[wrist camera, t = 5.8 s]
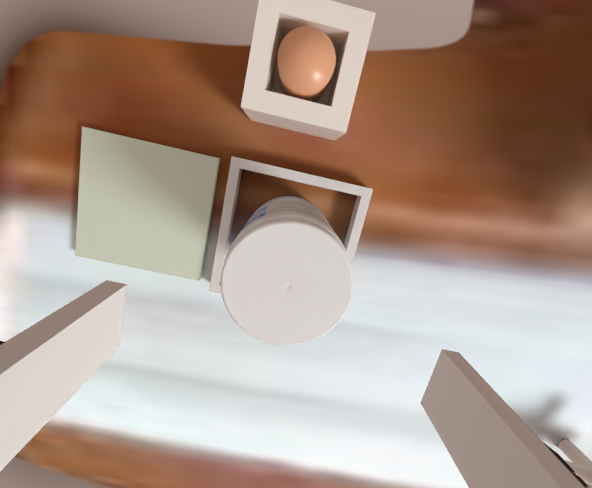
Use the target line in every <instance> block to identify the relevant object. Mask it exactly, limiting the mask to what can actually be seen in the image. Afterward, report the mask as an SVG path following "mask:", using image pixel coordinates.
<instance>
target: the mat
mask: <svg viewBox="0 0 592 488" xmlns="http://www.w3.org/2000/svg"><path fill="white" fill-rule="evenodd" d="M220 159H221V158H216V157H212V156H208V155H203V154H199V153H195V152H191V151H186V150H182V149H178V148H173V147H169V146H165V145H160V144H156V143H152V142H147V141H143V140H139V139H134V138H130V137H126V136H122V135H117V134H113V133H109V132H104V131H100V130H96V129H91V128H87V127H82V138H81V157H80V175H79V194H78V212H77V230H76V249H75V256H80V257H85V258H90V259H95V260H100V261H105V262H110V263H115V264H119V265H124V266H129V267H134V268H139V269H144V270H149V271H154V272H159V273H164V274H169V275H174V276H179V277H184V278H189V279H194V280H200V279H201V277H202V271H203V265H204V258H205V252H206V246H207V240H208V234H209V227H210V221H211V215H212V209H213V202H214V196H215V190H216V184H217V178H218V171H219V165H220Z"/></svg>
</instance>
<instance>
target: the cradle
mask: <svg viewBox="0 0 592 488" xmlns="http://www.w3.org/2000/svg"><path fill="white" fill-rule="evenodd" d="M242 169H245V170H249V171H254V172H258V173H262V174H267V175H271V176H275V177H280V178H284V179H288V180H293V181H297V182H301V183H306V184H310V185H314V186H319V187H323V188H327V189H332V190H336V191H340V192H345V193H349V194H353V195H357V198H356V201H355V205H354V209H353V212H352V216H351V220H350V223H349V227H348V231H347V234H346V238H345V242H344V247H345V249H346V251H347V253H348V256H349V259H350V262H351V266H352V262H353V259H354V255H355V252H356V248H357V244H358V241H359V237H360V234H361V230H362V227H363V223H364V220H365V216H366V213H367V209H368V206H369V202H370V199H371V195H372V191H373V189H371V188H366V187H362V186H358V185H353V184H349V183H345V182H340V181H336V180H332V179H328V178H323V177H319V176H315V175H310V174H306V173H302V172H298V171H293V170H289V169H285V168H280V167H276V166H272V165H268V164H263V163H259V162H255V161H250V160H246V159H242V158H238V157H233V156H232V157H231V163H230V169H229V175H228V181H227V187H226V193H225V199H224V205H223V211H222V217H221V222H220V228H219V234H218V240H217V246H216V252H215V258H214V264H213V270H212V276H211V282H210V288H209V291H211V292H216V293H221V273H222V268H223V265H224V261H225V258H226V255H227V253H228V248H229V242H230V236H231V231H232V225H233V220H234V214H235V208H236V203H237V197H238V192H239V186H240V180H241V175H242ZM221 294H222V293H221Z"/></svg>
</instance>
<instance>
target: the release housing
mask: <svg viewBox="0 0 592 488" xmlns="http://www.w3.org/2000/svg"><path fill="white" fill-rule="evenodd" d="M375 15H376V13H374V12H371V11H367V10H364V9H360V8H356V7H353V6H349V5H346V4H342V3H338V2H335V1H331V0H259V2H258V8H257V14H256V20H255V26H254V32H253V38H252V43H251V49H250V55H249V61H248V67H247V73H246V79H245V85H244V91H243V96H242V102H241V108H242V109H243V111H244V112H245V113H246V114H247V116H248V117H249V118H250V120H251V121H255V122H259V123H264V124H268V125H272V126H276V127H280V128H284V129H288V130H292V131H296V132H301V133H305V134H309V135H313V136H317V137H321V138H325V139H329V140H333V141H334V140H336V139H337V138H339V137H340V136H342V135H343V134H345V133H346V131H347V127H348V123H349V119H350V115H351V111H352V107H353V103H354V99H355V95H356V91H357V87H358V83H359V79H360V75H361V71H362V67H363V63H364V59H365V55H366V51H367V47H368V43H369V39H370V35H371V31H372V27H373V23H374V19H375ZM301 26H312V27H315V28H318V29H320V30H322V31H323V32H324V33H325V34H326V35H327V36H328V37H329V38H330V40H331V41H332V43H333V46H334V49H335V54H336V64H335V68H334V72H333V74H332V76H331V78H330V81H329V83H328V85H327V87H326V89H325V91H324V93H323V95H322V96H321V97H320V98H319V99H318V100H317V101H315V102H311V101H307V100H303V99H299V98H295V97H291V96H287V95H285V94H284V93H283V91H282V89H281V86H280V80H279V70H278V61H277V56H278V50H279V47H280V44H281V42H282V40H283V39H284V37H285V36H286V35H287V34H288V33H289V32H290V31H292V30H294V29H295V28H298V27H301Z"/></svg>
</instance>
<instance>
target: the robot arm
mask: <svg viewBox="0 0 592 488" xmlns="http://www.w3.org/2000/svg"><path fill="white" fill-rule="evenodd" d="M126 287H127V285H126V284H122V283H117V282H112V281H107V280H106V281H105V282H103V283H101V284H100V285H98V286H97V287H95V288H93V289H92V290H90V291H88V292H87V293H85V294H83V295H82V296H80V297H78V298H77V299H75V300H74V301H72V302H70V303H69V304H67V305H65V306H64V307H62V308H60V309H59V310H57V311H56V312H54V313H52V314H51V315H49V316H47V317H46V318H44V319H42V320H41V321H39V322H37V323H36V324H34V325H33V326H31V327H29V328H28V329H26V330H24V331H23V332H21V333H19V334H18V335H16V336H14V337H13V338H11V339H10V340H8V341H6V342H2V341H0V471H1V470H2V469H3V468H4V467H5V466H6V465H7V464H8V463H9V462H10V460H12V459H13V457H14V456H15V455H16V454H17V453H18V452H19V451H20V450H21V449H22V448H23V447H24V446H25V445H26V444H27V443H28V442H29V441H30V440H31V439H32V438H33V437H34V435H35V434H36V433H37V432H38V431H39V430H40V429H41V428H42V427H43V426H44V425H45V424H46V423H47V422H48V421H49V420H50V419H51V418H52V417H53V416H54V415H55V413H56V412H57V411H58V410H59V409H60V408H61V407H62V406H63V405H64V404H65V403H66V402H67V401H68V400H69V399H70V398H71V397H72V396H73V395H74V394H75V393H76V391H77V390H78V389H79V388H80V387H81V386H82V385H83V384H84V383H85V382H86V381H87V380H88V379H89V378H90V377H91V376H92V375H93V374H94V373H95V372H96V371H97V369H98V368H99V367H100V366H101V365H102V364H103V363H104V362H105V361H106V360H107V359H108V358H109V357H110V356H111V355H112V354H113V353H114V352H115V351H116V350H117V349H118V347H119V346H120V340H121V331H122V322H123V313H124V304H125V295H126ZM421 404H422V406H423V408H424V409H425V411H426V413H427V415H428V416H429V418H430V420H431V422H432V424H433V425H434V427H435V429H436V431H437V432H438V434H439V436H440V438H441V439H442V441H443V443H444V445H445V446H446V448H447V450H448V452H449V453H450V455H451V457H452V459H453V460H454V462H455V464H456V466H457V467H458V469H459V471H460V473H461V474H462V476H463V478H464V480H465V481H466V483H467V485H468V487H469V488H590V487H589V486H588V485H587V484H586V483H585V482H584V481H583V480H582V479H581V478H580V477H579V476H576V474H575V473H576V472H575V471H574V470H573V469H572V468H571V467H570V466H569V465H568V464H567V463H566V462H565V461H564V460H563V459H562V458H561V457H560V456H559V455H558V454H557V453H556V452H555V451H553V450H552V449H551V448H550V447H548V446H547V445H546V444H545V443H543V442H542V441H541V440H540V439H539V438H538V437H537V436H536V435H535V434H534V433H533V431H532V430H531V429H530V428H529V427H528V426H527V425H526V424H525V423H524V422H523V421H522V420H521V419H520V418H519V417H518V415H517V414H516V413H515V412H514V411H513V410H512V409H511V408H510V407H509V406H508V405H507V404H506V403H505V402H504V400H503V399H502V398H501V397H500V396H499V395H498V394H497V393H496V392H495V391H494V390H493V389H492V388H491V387H490V385H489V384H488V383H487V382H486V381H485V380H484V379H483V378H482V377H481V376H480V375H479V374H478V373H477V372H476V370H475V369H474V368H473V367H472V366H471V365H470V364H469V363H468V362H467V361H466V360H465V359H464V358H463V357H462V356H461V354H460V353H458V352H453V351H448V350H443V349H442V351H441V353H440V356H439V358H438V361H437V363H436V366H435V368H434V371H433V373H432V376H431V378H430V381H429V383H428V386H427V388H426V391H425V393H424V396H423V398H422V401H421Z"/></svg>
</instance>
